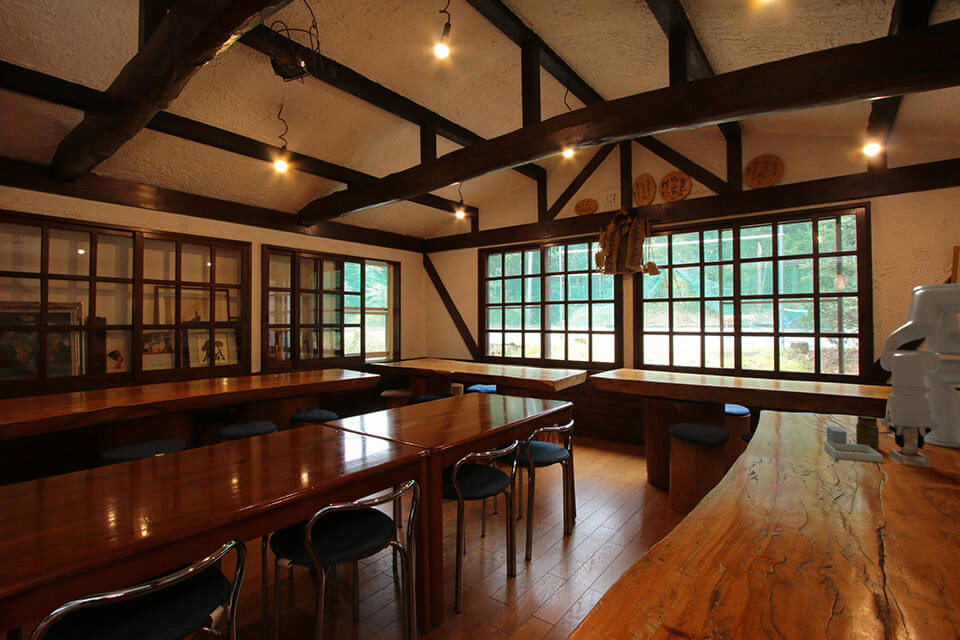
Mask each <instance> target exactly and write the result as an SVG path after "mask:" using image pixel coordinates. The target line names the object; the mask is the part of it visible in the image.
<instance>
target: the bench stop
mask: <svg viewBox="0 0 960 640" xmlns="http://www.w3.org/2000/svg"><path fill="white" fill-rule="evenodd" d="M826 442H833V443H845V444H848V443H847V442H848V441H847V431H846V430H845V429H843V428H842V427H840V426H830V425H829V426H826Z"/></svg>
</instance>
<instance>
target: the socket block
mask: <svg viewBox="0 0 960 640" xmlns="http://www.w3.org/2000/svg"><path fill="white" fill-rule="evenodd" d="M887 458H888V459H889V458H890V459H891V460H892V461H893V462H896V463H897V464H898V465H908V466H915V467H916V466H917V467H918V466H919V467H927V468H928V467H929V468H932V465H930V458H929V457H928V456H926V455H924V454H923V453H921V452H919V451H918V457H917V456H906V455H902V454H901V449H889V455H888V456H887Z"/></svg>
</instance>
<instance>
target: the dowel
mask: <svg viewBox="0 0 960 640" xmlns="http://www.w3.org/2000/svg"><path fill="white" fill-rule="evenodd" d="M901 433H902V435H903V439H904V447H903V448H901V447H900V450H901V454H902V455H906V456H917V457H918V452H919V448H918V428H916V427H908V426H903V428H902V432H901Z"/></svg>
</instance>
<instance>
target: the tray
mask: <svg viewBox="0 0 960 640" xmlns="http://www.w3.org/2000/svg"><path fill="white" fill-rule="evenodd" d="M823 445H824V446H823V450H824V451H825V452H826V453H827V455H829V456H830V457H831V458H832V460H834V461H835V462H836V461H837V462H839V461H840V460H839V459H843V460H844V459H846V460H856V461H867V462H876V463H878V462H879V463H883V462H884V461H883V460H884V459H883V455H882V454H881V453H879V452H877V450H874V449H872V448H871V447H870V446H868V445H858V444H856V443H855V444H854V443H847V444H845V443H833V442H827V441H824V442H823ZM839 450H840V451H839ZM841 450H845V451H841ZM851 451H855V452H851ZM860 452H861V453H860ZM863 452H864V453H863ZM865 452H866V453H865Z"/></svg>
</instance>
